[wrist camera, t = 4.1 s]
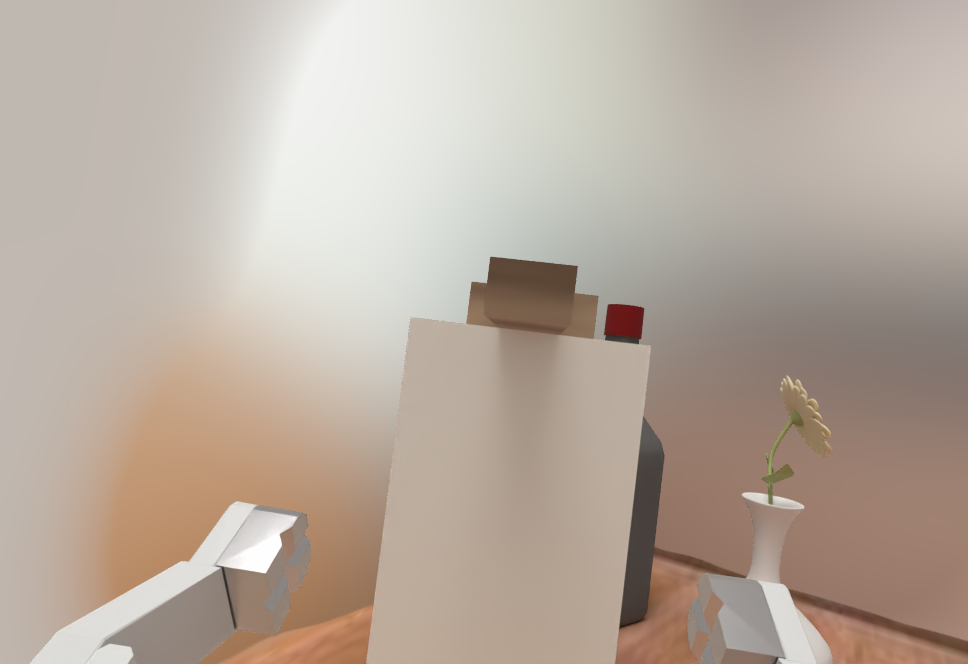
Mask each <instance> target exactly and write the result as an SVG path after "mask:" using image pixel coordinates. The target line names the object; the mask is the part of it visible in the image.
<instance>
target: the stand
mask: <svg viewBox="0 0 968 664" xmlns="http://www.w3.org/2000/svg"><path fill="white" fill-rule="evenodd" d="M650 349H651V346H647V345H639V344H631V343H622V342H614V341H606V340H597V339H589V338H580V337H572V336H564V335H555V334H547V333H538V332H530V331H522V330H513V329H505V328H497V327H488V326H480V325H471V324H463V323H454V322H445V321H438V320H429V319H421V318H412V317H411V318H410V325H409V333H408V341H407V349H406V356H405V364H404V373H403V380H402V388H401V396H400V403H399V412H398V419H397V427H396V435H395V442H394V450H393V458H392V466H391V474H390V482H389V490H388V497H387V505H386V513H385V521H384V529H383V537H382V545H381V553H380V560H379V568H378V575H377V583H376V591H375V599H374V607H373V614H372V622H371V630H370V638H369V646H368V654H367V661H366V664H615V659H616V651H617V642H618V633H619V624H620V615H621V606H622V598H623V589H624V580H625V571H626V562H627V553H628V545H629V536H630V527H631V518H632V509H633V500H634V492H635V483H636V474H637V465H638V456H639V448H640V439H641V430H642V421H643V412H644V403H645V395H646V385H647V377H648V368H649V359H650Z"/></svg>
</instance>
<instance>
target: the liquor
mask: <svg viewBox="0 0 968 664" xmlns="http://www.w3.org/2000/svg"><path fill="white" fill-rule="evenodd" d="M643 316H644V308H642V307H638V306H631V305H621V304H609V305H608V308H607V316H606V323H605V332H604V335H606V338H605V340H606V341H614V342H622V343H631V344H639V339H641V335H642V325H643ZM663 463H664V452H663V448H662V444H661V441H660V440H659V438H658V437H657V435H656V434H655V433H654V431H653V430H652V428H651V427H650V425H649V424H648V423H647V421H646V420H645V418H644V416H643V421H642V430H641V439H640V448H639V456H638V465H637V474H636V483H635V492H634V500H633V509H632V518H631V527H630V536H629V545H628V553H627V562H626V571H625V580H624V589H623V598H622V606H621V615H620V624H619V627H620V626H624V625H627V624H630V623H633V622H637V621H640V620H641V619H642V618H643V616H644V615H645V614H646V612H647V606H648V598H649V589H650V580H651V571H652V562H653V553H654V543H655V534H656V526H657V517H658V508H659V499H660V489H661V482H662V472H663Z"/></svg>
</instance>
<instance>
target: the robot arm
mask: <svg viewBox="0 0 968 664" xmlns="http://www.w3.org/2000/svg"><path fill="white" fill-rule="evenodd" d="M307 527H308V521H307V515H306V514H304V513H301V512H295V511H290V510H284V509H279V508H273V507H268V506H261V505H255V504H249V503H243V502H235V503H234V504H232V505H231V506H230V507H229V508H228V509H227V510H226V512H225V513H224V515H223V516H222V517H221V518H220V520H219V521H218V523H217V524H216V525H215V527H214V528H213V529H212V531H211V532H210V534H209V535H208V536H207V538H206V539H205V540H204V542H203V543H202V544H201V546H200V547H199V549H198V550H197V551H196V553H195V554H194V555H193V557H192V558H191V559H190V561H189V562H184V561H181V562H179V563H178V564H176V565H174V566H172V567H171V568H169V569H167V570H166V571H163V572H162V573H160V574H158V575H156V576H155V577H153V578H151V579H149V580H148V581H146V582H144V583H142V584H140V585H139V586H137V587H135V588H134V589H132V590H130V591H128V592H126V593H125V594H123V595H121V596H119V597H118V598H116V599H114V600H112V601H111V602H109V603H107V604H105V605H104V606H102V607H100V608H98V609H96V610H95V611H93V612H91V613H89V614H88V615H86V616H84V617H82V618H81V619H79V620H77V621H75V622H73V623H72V624H70V625H68V626H66V627H65V628H63V629H61V630H59V631H58V632H57V633H56V634H55V635H54V636H53V637H52V638H51V640H50V641H49V642H48V643H47V644H46V645H45V646H44V648H43V649H42V650H41V651H40V652H39V653H38V655H37V656H36V657H35V658H34V659H33V660H32V661H31V663H30V664H198V663H199V662H200V661H201V660H203V659H204V658H205V657H206V656H207V655H209V654H210V653H211V652H212V651H213V650H215V649H216V648H217V647H218V646H220V645H221V644H222V643H223V642H224V641H225V640H226V639H228V638H229V637H230V636H231V635H233V634H234V633H235V630H240V631H247V632H255V633H261V634H269V635H275V636H276V635H277V633H278V631H279V629H280V627H281V625H282V623H283V621H284V619H285V617H286V615H287V613H288V611H289V609H290V607H291V604H290V596H289V595H290V594H291V593H292V592H294V591H295V590H297V589H298V588H300V587H301V584H302V582H303V580H304V578H305V576H306V573H307V569H308V566H309V562H310V554H311V546H310V541H309V539H308V538H307V537H306V536H305V535H304V533H305V531H306V529H307ZM697 587H698V592H699V597H697V598H696V599H694V600H692V602H691V605H690V609H689V612H688V623H687V631H688V641H689V646H690V651H691V653H692V654H693V655H694V656H695V657H696V659H697V660H698V661H699V663H698V664H818V663H817V661H816V658H815V656H814V653H813V651H812V648H811V646H810V643H809V641H808V638H807V636H806V633H805V631H804V628H803V626H802V623H801V621H800V618H799V616H798V613H797V611H796V608H795V606H794V603H793V601H792V598H791V595H790V593H789V590H788V589H787V588H786V587H785V586H784V584H777V583H770V582H764V581H755V580H752V579H745V578H737V577H730V576H723V575H716V574H709V573H703V574H702V576H701V577H700V579H699V582H698V585H697Z"/></svg>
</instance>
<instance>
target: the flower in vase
mask: <svg viewBox="0 0 968 664" xmlns="http://www.w3.org/2000/svg"><path fill="white" fill-rule="evenodd" d="M781 387H782V388H780V392H781V395H782V398H783V401H784V404H785V406H786V410H787V412H788V414H789V416H790V417H791V419H790V421H789V422H788V423H787V425H786V426H785V427H784V429H783V430H782V432H781V433H780V435H779V437H778V438H777V440H776V441H775V443H774V445H773V447H772V449H771V452H770V456H768V455H767V454H766V458H767V463H768V476H765V477H763V478H762V480H763V481H765V482H766V483H768V495H767V494H760V493H743V494H742V497H743V499H744V500H745V502H746V504H747V506H748V508H749V511H750V514H751V518H752V524H753V544H754V545H753V557H752V564H751V568H750V571H749V574H748V576H747V577H746V579H752V580H755V581H764V582H770V583H777V584H781V583H780V574H779V573H780V559H781V553H782V548H783V543H784V539H785V536H786V533H787V531H788V528H789V526H790V524H791V523H792V521H793V519H794V518H795V517H796V516H797V515H798V514H799V513H800V512H801V511H802V510H803V509H804V506H803V505H801V504H800V503H798V502H795V501H792V500H789V499H785V498H781V497H777V496H773V492H772V483H775V482H779V481H781V480H783V479H786V478H789V477H791V476H793V475H794V472H793V470H792V469H791V468H790V466H789V465H788V464H786V465H784V466H783V467H782V468H781V469H780V470H778V471H777V472H774V469H773V467H772V461H773V456H774V453H775V451H776V448H777V446H778V445H779V443H780V441H781V439H782V438H783V437H784V435H785V434H786V432H787V431H788V429H789V428H790V427H791V425H792V424H794V425H795V427H796V428H797V430H798V432H799V433H800V435H801V436H802V438H804V440H805V441H806V443H807V444H808V446H810V447H811V448H812V449H813V450H814V452H815V453H817V454H819V455H820V456H822V457H826V455H827V451H828V452H829V453H831V454H832V453H833V451H832V449H831V447H830V445H829V444H828V443H827V442H826V437H828V438H831V437H832V435H831V432H830V431H829V430H828V428H827V427H825V426H824V425H823V424H821V423H822V422H823V419H822V417H821V416H820V414H818V413H817V412H818V410H819V406H818V403H817V402H816V400H814V399H810V400H808V401H807V393H806V391H805V390H804V389H803V388H802V385H801V382H800V381H799V380H796V384H795V386H793V383H792V381H791V379H790V378H789V376H787V377H786V380H785V379H783V382H781ZM795 608H796V607H795ZM796 611H797V613H798V616H799V618H800V621H801V623H802V626H803V628H804V631H805V633H806V636H807V638H808V641H809V643H810V646H811V648H812V651H813V653H814V656H815V658H816V661H817V663H818V664H833V659H832V655H831V652H830V649H829V646H828V645H827V643H826V642H825V640H824V639H823V638H822V636H821V635H820V633H819V632H818V631H817V629H816V628H815V627H814V626H813V625H812V624H811V623H810V622H809V621H808V619H807V618H806V617H805V616H804V615H803V614H802V613H801V612H800V611H799V610H798V609H797V608H796Z"/></svg>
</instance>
